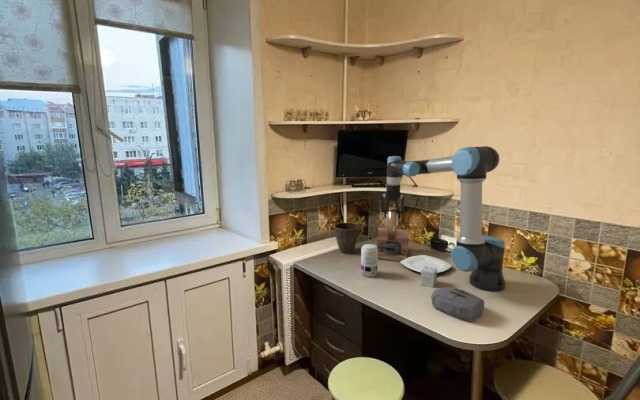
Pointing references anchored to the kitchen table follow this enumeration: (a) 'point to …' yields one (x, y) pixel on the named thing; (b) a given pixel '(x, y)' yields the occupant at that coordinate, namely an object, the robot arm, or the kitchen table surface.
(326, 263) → the kitchen table surface
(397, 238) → the transparent box
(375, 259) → the supplement can
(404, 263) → the plate
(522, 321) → the kitchen table surface
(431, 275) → the skincare box
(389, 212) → the clear glass cylinder
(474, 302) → the soft grey pack
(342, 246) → the plant pot
